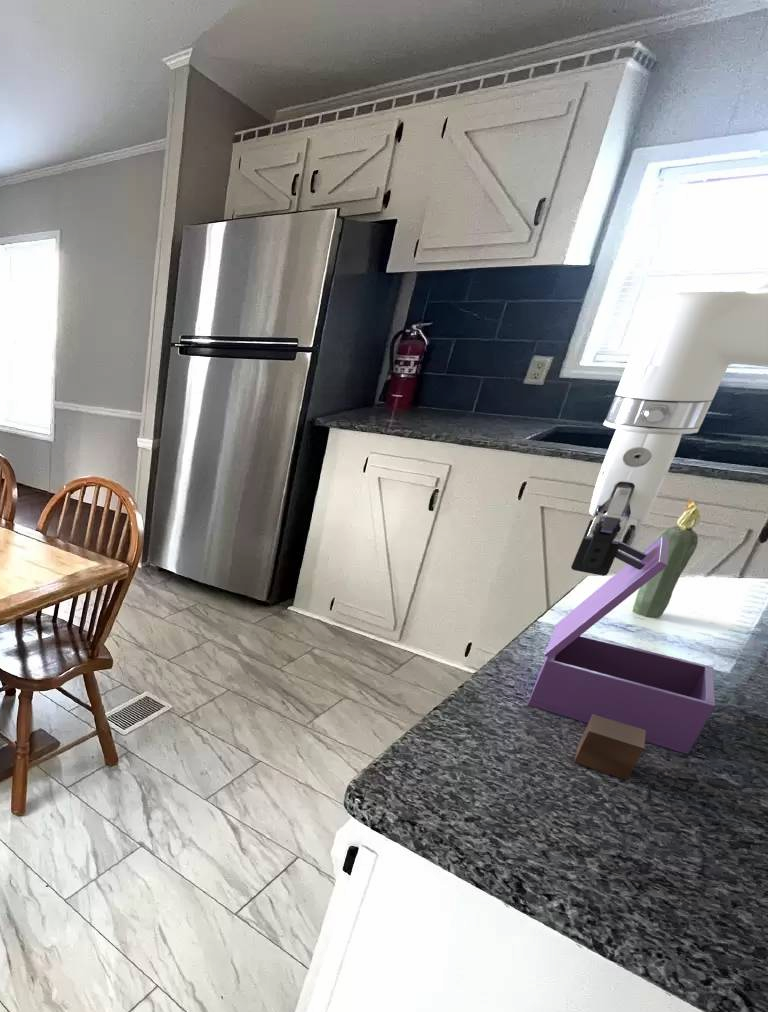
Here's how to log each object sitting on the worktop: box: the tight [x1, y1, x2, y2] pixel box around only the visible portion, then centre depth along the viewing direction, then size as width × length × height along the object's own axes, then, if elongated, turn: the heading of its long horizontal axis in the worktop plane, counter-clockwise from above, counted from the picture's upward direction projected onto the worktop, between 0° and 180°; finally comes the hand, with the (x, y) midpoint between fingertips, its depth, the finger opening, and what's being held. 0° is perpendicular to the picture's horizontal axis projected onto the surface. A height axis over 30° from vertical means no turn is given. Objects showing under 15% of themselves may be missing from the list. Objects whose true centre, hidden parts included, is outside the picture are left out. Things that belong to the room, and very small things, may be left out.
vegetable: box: [632, 499, 701, 619], centre depth 96 cm, size 4×4×20 cm
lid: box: [543, 536, 669, 659], centre depth 78 cm, size 15×11×6 cm
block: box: [573, 714, 646, 781], centre depth 71 cm, size 4×4×4 cm
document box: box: [526, 634, 716, 755], centre depth 79 cm, size 14×11×7 cm
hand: (592, 561), depth 77 cm, fingers open, 8 cm apart
